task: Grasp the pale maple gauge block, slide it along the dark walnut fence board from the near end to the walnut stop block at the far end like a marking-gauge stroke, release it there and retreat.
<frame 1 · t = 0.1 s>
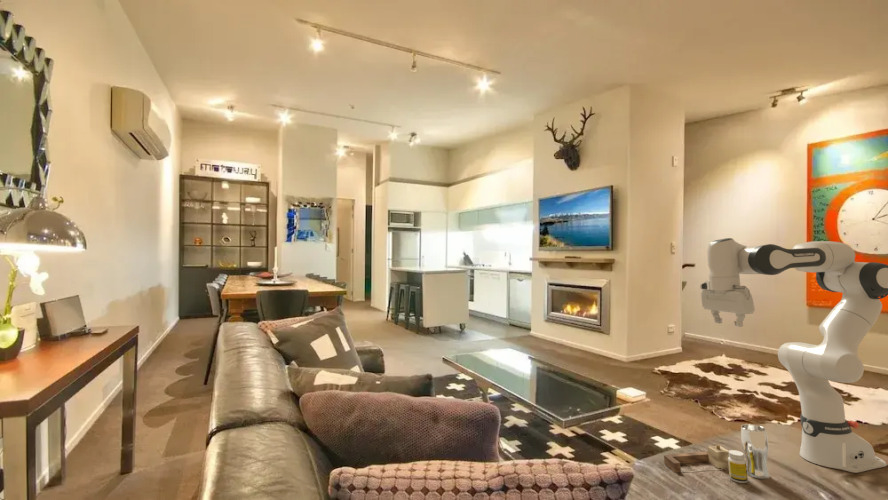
hand: (728, 324, 140), 48 cm above the table, fingers open, 8 cm apart
supplement bottle: (738, 480, 129), on the table
fence board: (694, 461, 142), on the table
gauge block: (719, 465, 138), on the table
beer glass: (757, 475, 131), on the table
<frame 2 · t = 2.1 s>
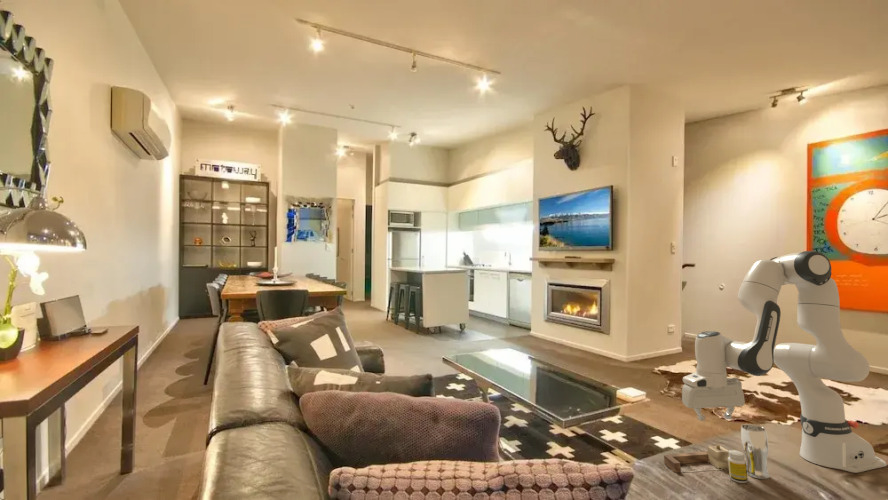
hand: (714, 419, 139), 15 cm above the table, fingers open, 8 cm apart
nothing on the table moved.
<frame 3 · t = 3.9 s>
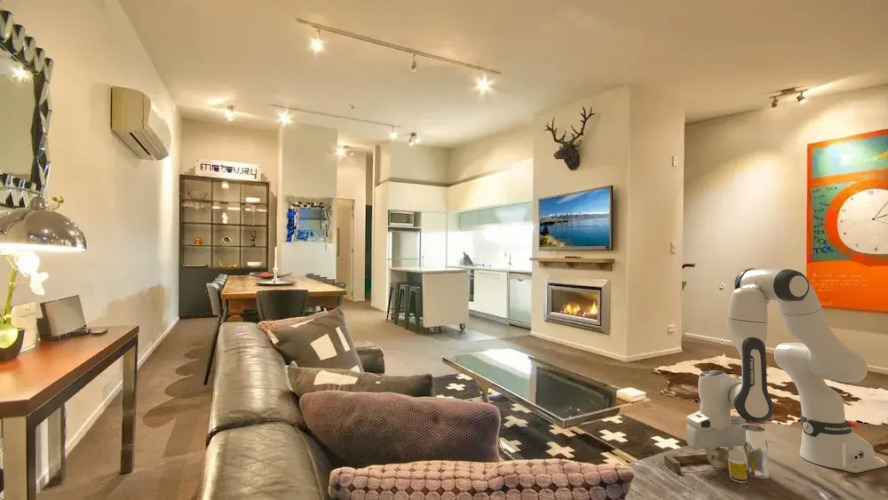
hand: (719, 459, 138), 2 cm above the table, fingers closed on gauge block, 4 cm apart
gauge block: (719, 464, 138), on the table, touching gripper
everything else where it was.
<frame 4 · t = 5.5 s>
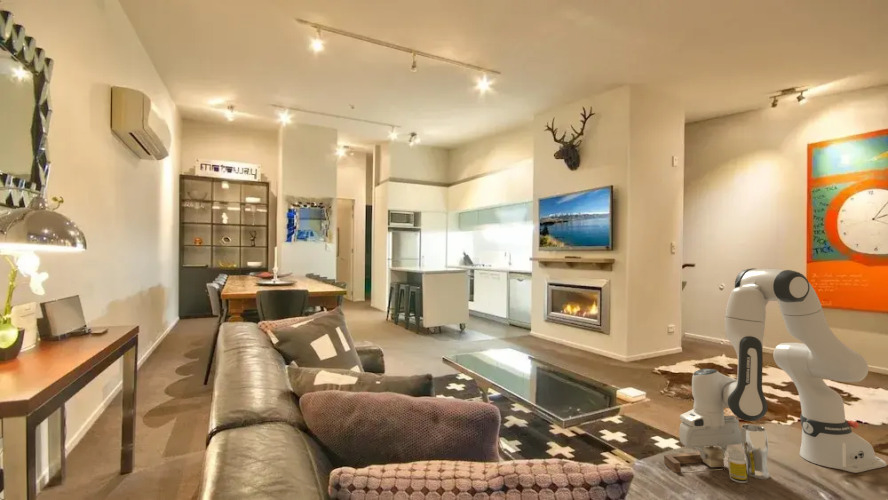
hand: (712, 458, 138), 2 cm above the table, fingers closed on gauge block, 4 cm apart
gauge block: (713, 463, 138), point 1 cm above the table, touching gripper
everything else where it was.
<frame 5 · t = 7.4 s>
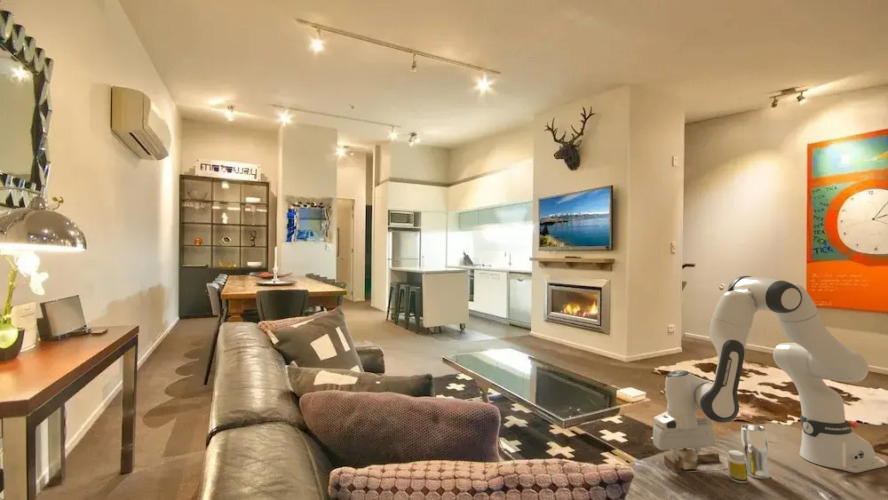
hand: (685, 460, 138), 2 cm above the table, fingers closed on gauge block, 4 cm apart
gauge block: (686, 465, 138), point 1 cm above the table, touching gripper
everything else where it was.
when the fingers open (2 cm above the table, at t = 9.5 s): gauge block stays where it is, on the table.
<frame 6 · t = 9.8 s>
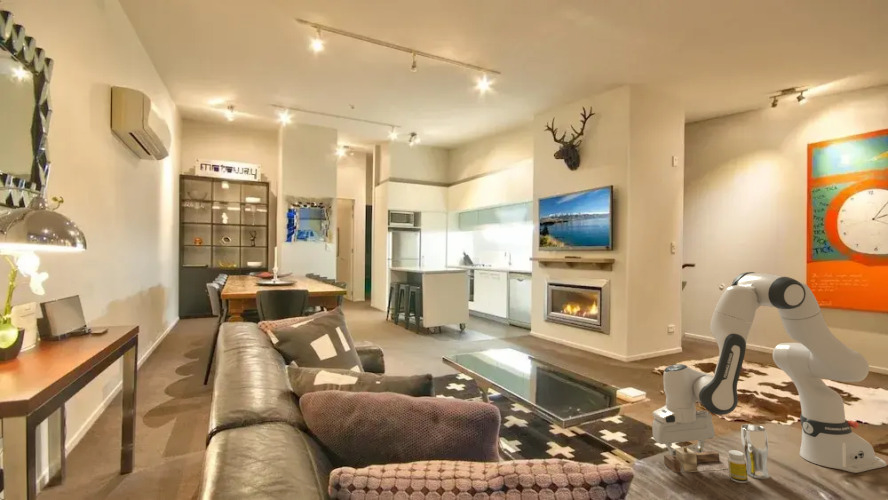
hand: (686, 453, 138), 4 cm above the table, fingers open, 8 cm apart
gauge block: (686, 467, 138), on the table
everything else where it was.
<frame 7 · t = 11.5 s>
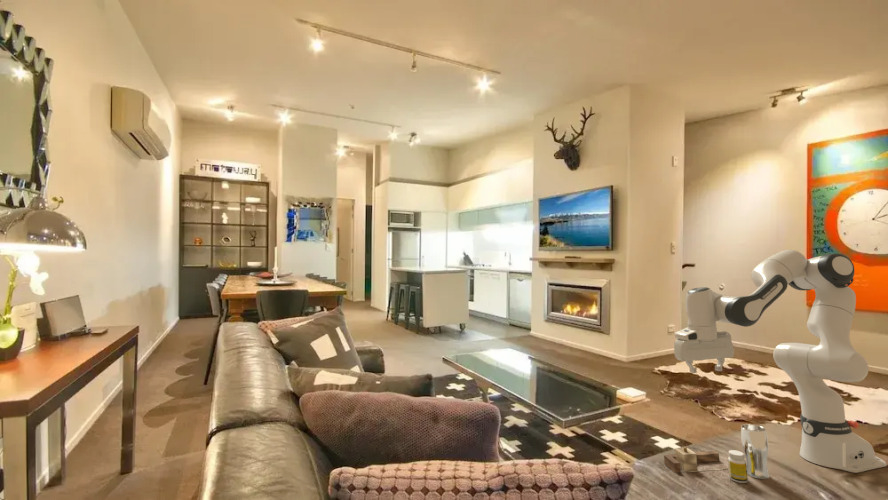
hand: (706, 371, 144), 31 cm above the table, fingers open, 8 cm apart
nothing on the table moved.
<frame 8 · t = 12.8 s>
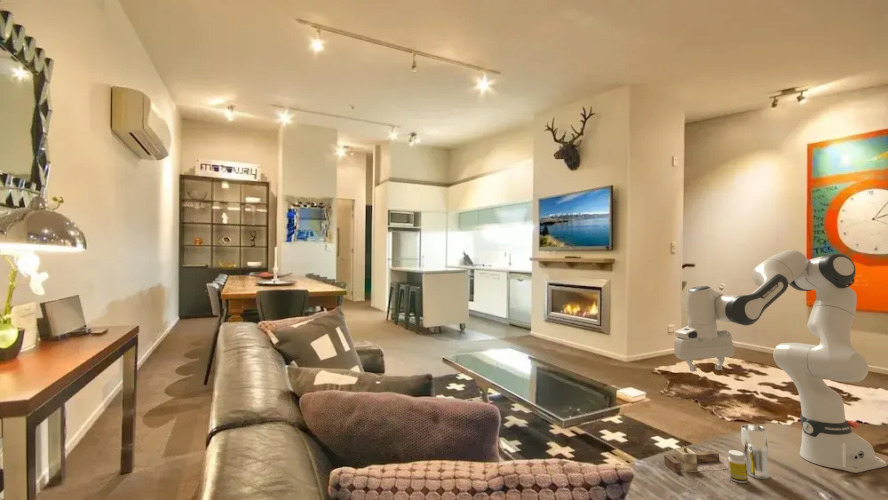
hand: (705, 370, 144), 31 cm above the table, fingers open, 8 cm apart
nothing on the table moved.
at the end: gauge block 0.8 cm from the target spot, on the table; gauge block tilted 0°; the gripper is holding nothing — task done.
